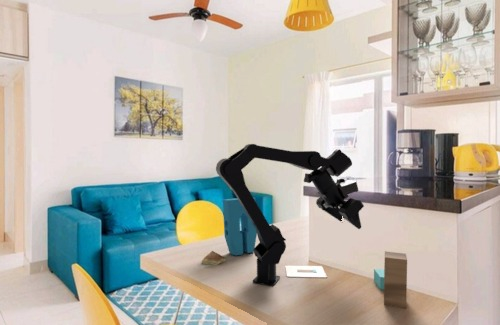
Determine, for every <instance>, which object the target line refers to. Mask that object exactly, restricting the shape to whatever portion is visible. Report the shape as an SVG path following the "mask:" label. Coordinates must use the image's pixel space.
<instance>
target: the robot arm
mask: <svg viewBox="0 0 500 325" xmlns="http://www.w3.org/2000/svg"><path fill="white" fill-rule="evenodd" d="M254 159H261V160H267V161H271V162H272V161H274V162H280V163H285V164H289V165H291V166H293V167H296V168H299V169H302V170H307V171H311V172H310V173H308V172H307V173H305V174H304V178H303V182H304V183H307V184H311V183H313V185H314V187H315V189H316V190H317V191H318V192H317V195H318V196H320V197H318V198H317V199H316V202H315V204H316V206H317V207H318V208H319V209H321V210H322V211H324V212H325V213H327V214H328V215H329V216H332V217H333V218H334V219H336V220H337V221H339V222H341V221H342V220H341V219H342V216H343V218H344V220H345V221H347V223H349V224H350V225H352V226H354V227H355V228H356V229H358V230H361V229H362V223H361V219H360V211H362V209H363V208H364V207H365V206H364V203H363V202H362V200H361V199H357V198H351V197H350V196H349V194H353V193H357V192H359V186H358V183H357V180H351V179H349V180H347V179H346V180H345V178H342V177H340V176H341V175H343V173H344V172H345V171H347V170H348V169H349V168H351V166H352V165H353V162H352V159H351V158H350V157H349V156H348V155H347V154H346V153H344V152H343V151H342V150H341V149H338V148H337V149H335V150H334V151H333V152H332V153H331V154H329V155H328V156H327V157H323V156H321V154H320V152H318V151H316V150H293V151H292V150H285V149H280V148H275V147H269V146H262V145H257V144H256V143H248V144H246V145H244V147H243V148H241V149H240V150H238V151H236V152H235V153H234V154H232V155H230V156H229V157H228V158H226V157H225V158H222V159H220V160H218V162H217V163H216V167H215V172H216V173H217V176H219V177H220V178H221V180H223V182H224V183H225V184H226V185H227V186H228V187H229V188H230V189H231V190H232V192H233V193H234V195H235V197H236V198H238V200H239V202H240V203H241V205H242V207H243V208H244V210H245V212H246V213H247V215H248V217H249V218H250V220H251V222H252V223H253V225H254V227H255V228H256V231H257V239H258V241H259V243H257V245H255V248H254V249H253V251H254V252H253V254H254V256H255V257H256V276H255V277H254V278H253V279H252V283H255V284H258V285H259V284H260V285H267V286H272V287H273V286H275V285H276V284H277V282H278V281H279V280H280V278H281V275H277V265H279V264H280V261H281V258H282V255H284V253H285V252H286V248H287V244H286V242H285V241H286V240H287V239H286V238H284V236H283V234H282V232H281V230H280V228H279V227H277V226H276V225H274V224H269V222H268V220H267V219H266V217H265V215H264V213H263V212H262V210H261V209H260V207H259V204H257V202H256V199H255V200H254V198H253V195H252V192H250V190H249V188H248V186H247V185H246V181H245V177H244V174H243V171H242V170H243V169H245V167H246V166H248V165H249V164H250V163H251V162H252V161H253V160H254ZM352 167H353V166H352ZM333 177H338V178H337V179H336V182H335V180H334V179H333ZM348 197H350V198H349V199H348V200H346V199H347V198H348Z"/></svg>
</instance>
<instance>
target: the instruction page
mask: <svg viewBox="0 0 500 325" xmlns="http://www.w3.org/2000/svg"><path fill="white" fill-rule="evenodd" d="M284 266H285V273H286V277H287V278H313V279H314V278H315V279H316V278H317V279H318V278H320V279H327V278H328V276H327V274H326V271H325V270H324V268H323V266H322V265H284Z"/></svg>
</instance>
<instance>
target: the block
mask: <svg viewBox="0 0 500 325" xmlns="http://www.w3.org/2000/svg"><path fill="white" fill-rule="evenodd" d="M253 198H254V200H255V201H256V197H253ZM222 209H223V210H222V212H223V213H222V215H223V227H224V228H223V230H224V232H223V233H224V239H225V242H226V246H227V250H228V251H229V252H228V253H229V254H230V255H232V256H239V255H240V256H241V255H243V254H244V252H245V253H248V254H249V253H254V251H253V249H254V248H255V247H256V242H257V237H258V235H257V231H256V228H255V227H254V225H253V223H252V222H251V220H250V218H249V217H248V215H247V213H246V212H245V210H244V208H243V207H242V205H241V203H240V202H239V200H238V198H237V197H236V198H228V199H227V198H226V199H222Z"/></svg>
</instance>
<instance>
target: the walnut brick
mask: <svg viewBox="0 0 500 325" xmlns="http://www.w3.org/2000/svg"><path fill="white" fill-rule="evenodd" d="M383 264H384V265H383V266H384V268H383V269H384V290H383V305H384V306H388V307H394V308H400V309H401V308H402V309H407V292H408V291H407V288H408V287H407V286H408V285H407V284H408V282H407V281H408V278H407V277H408V257H407V253H403V252H394V251H384V263H383Z"/></svg>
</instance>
